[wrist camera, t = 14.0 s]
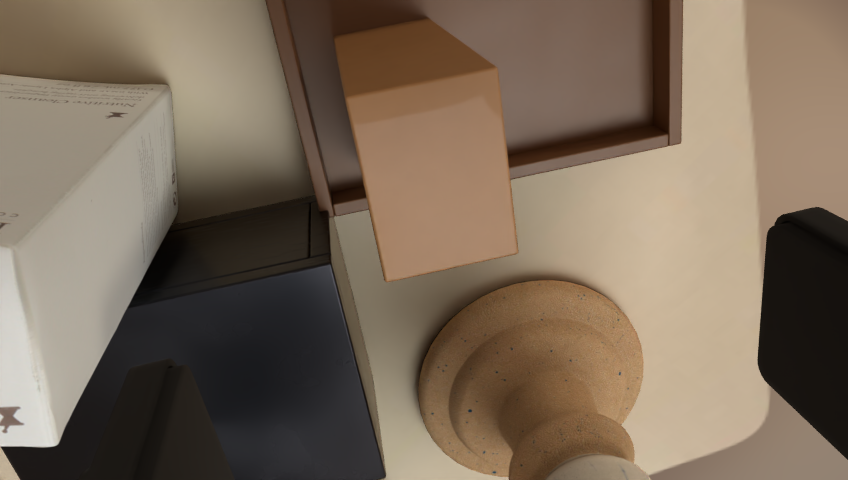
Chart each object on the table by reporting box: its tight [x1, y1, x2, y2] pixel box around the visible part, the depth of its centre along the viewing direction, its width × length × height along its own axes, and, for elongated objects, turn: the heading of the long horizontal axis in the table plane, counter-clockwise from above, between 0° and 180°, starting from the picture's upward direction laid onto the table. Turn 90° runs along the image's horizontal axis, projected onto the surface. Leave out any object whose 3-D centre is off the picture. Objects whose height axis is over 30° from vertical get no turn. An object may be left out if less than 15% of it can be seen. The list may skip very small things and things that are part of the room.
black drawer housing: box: [1, 196, 386, 480], centre depth 28 cm, size 11×14×7 cm
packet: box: [333, 18, 518, 282], centre depth 23 cm, size 4×6×11 cm
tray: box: [265, 0, 683, 217], centre depth 27 cm, size 16×12×2 cm
